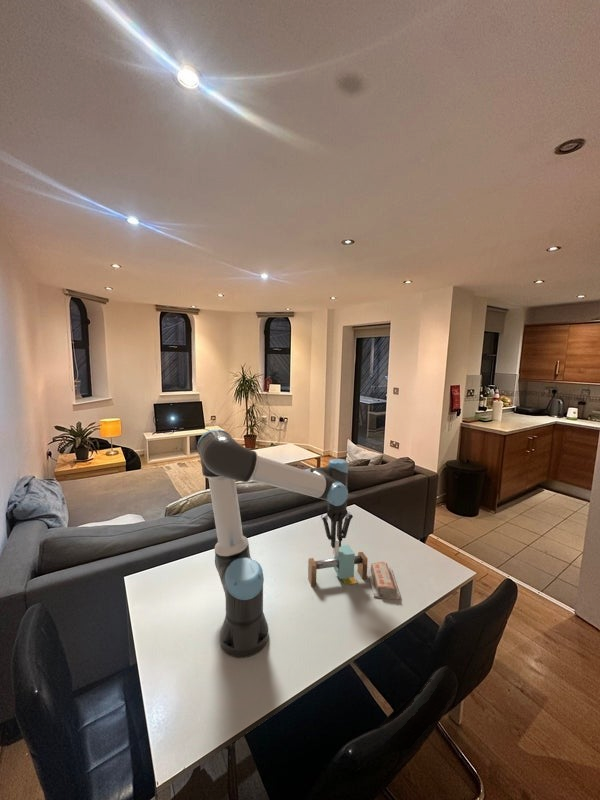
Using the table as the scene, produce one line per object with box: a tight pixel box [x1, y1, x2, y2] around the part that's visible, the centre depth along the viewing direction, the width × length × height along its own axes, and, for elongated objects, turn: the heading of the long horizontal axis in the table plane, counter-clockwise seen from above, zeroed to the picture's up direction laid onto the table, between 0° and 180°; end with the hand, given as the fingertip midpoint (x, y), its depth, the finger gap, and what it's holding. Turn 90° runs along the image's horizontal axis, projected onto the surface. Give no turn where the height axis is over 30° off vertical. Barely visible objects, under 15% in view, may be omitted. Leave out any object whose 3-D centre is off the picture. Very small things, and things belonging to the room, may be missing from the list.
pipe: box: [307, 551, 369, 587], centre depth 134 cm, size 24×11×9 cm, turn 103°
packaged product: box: [367, 561, 401, 600], centre depth 132 cm, size 18×5×10 cm
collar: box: [333, 544, 356, 580], centre depth 134 cm, size 6×7×10 cm
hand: (335, 554), depth 132 cm, fingers closed
